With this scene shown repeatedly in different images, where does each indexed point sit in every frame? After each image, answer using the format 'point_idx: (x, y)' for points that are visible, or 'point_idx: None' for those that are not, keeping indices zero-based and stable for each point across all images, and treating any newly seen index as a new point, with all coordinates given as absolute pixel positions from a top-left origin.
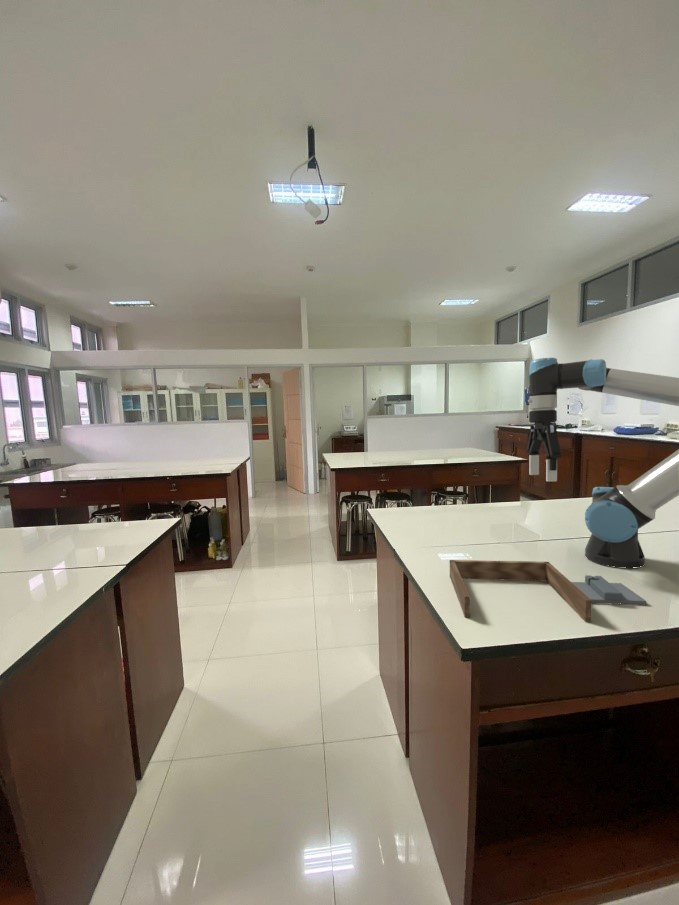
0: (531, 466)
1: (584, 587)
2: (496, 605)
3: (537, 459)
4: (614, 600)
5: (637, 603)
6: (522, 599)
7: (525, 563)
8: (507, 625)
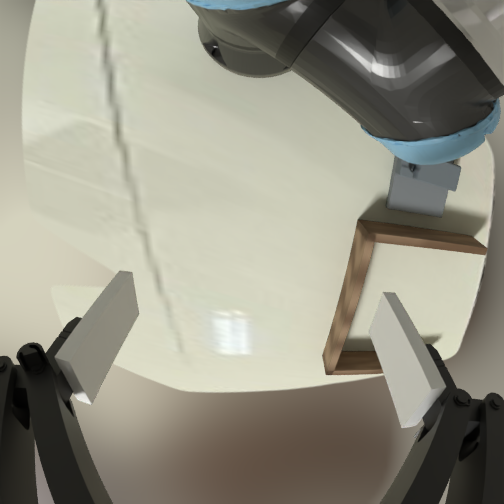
0: (118, 342)
1: (412, 188)
2: (413, 321)
3: (87, 345)
4: None
5: None
6: (410, 288)
7: (365, 276)
8: (447, 321)
